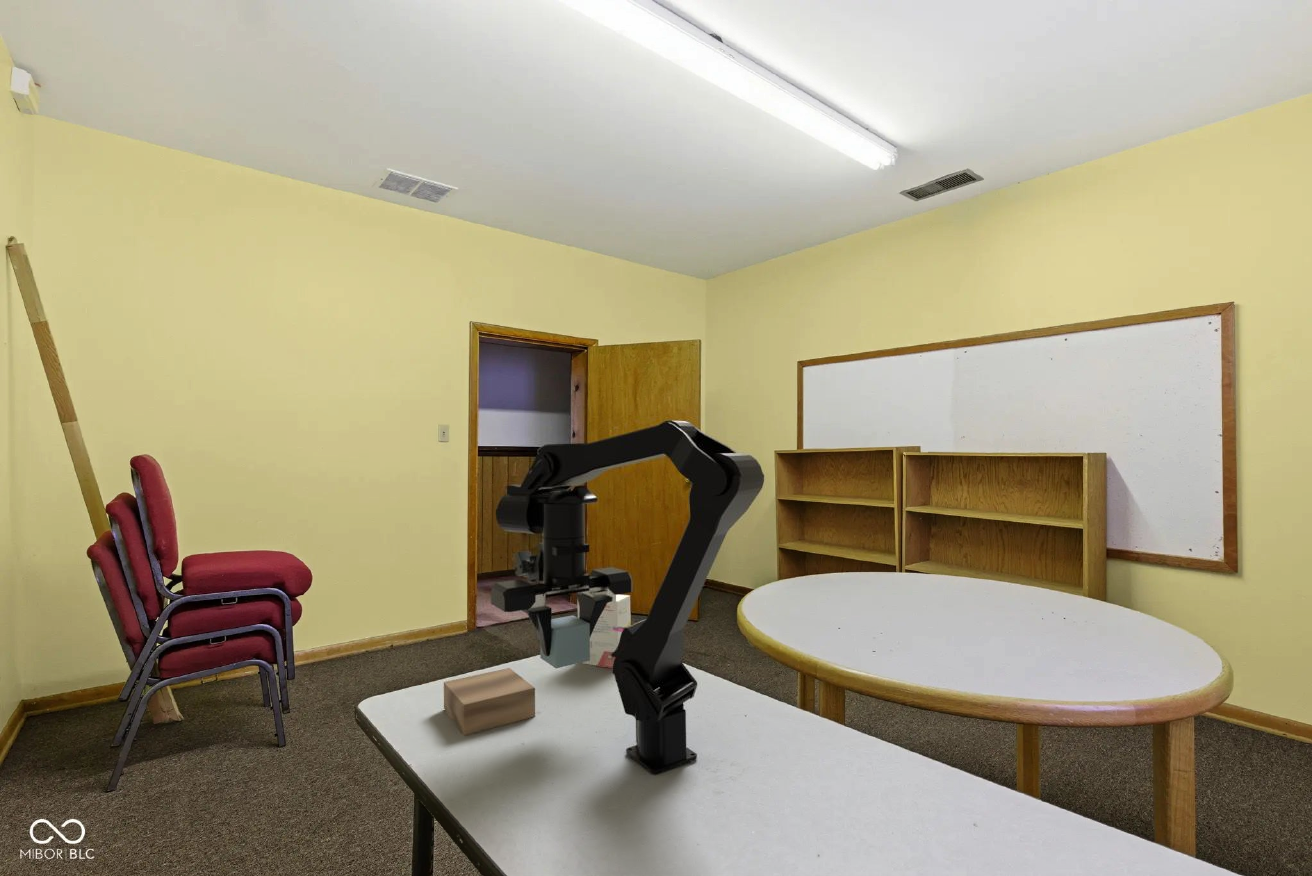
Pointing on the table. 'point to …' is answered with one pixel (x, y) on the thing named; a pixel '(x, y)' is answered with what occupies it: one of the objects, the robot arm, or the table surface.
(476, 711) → the walnut block
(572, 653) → the slate block
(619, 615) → the ink cartridge box
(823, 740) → the table surface
